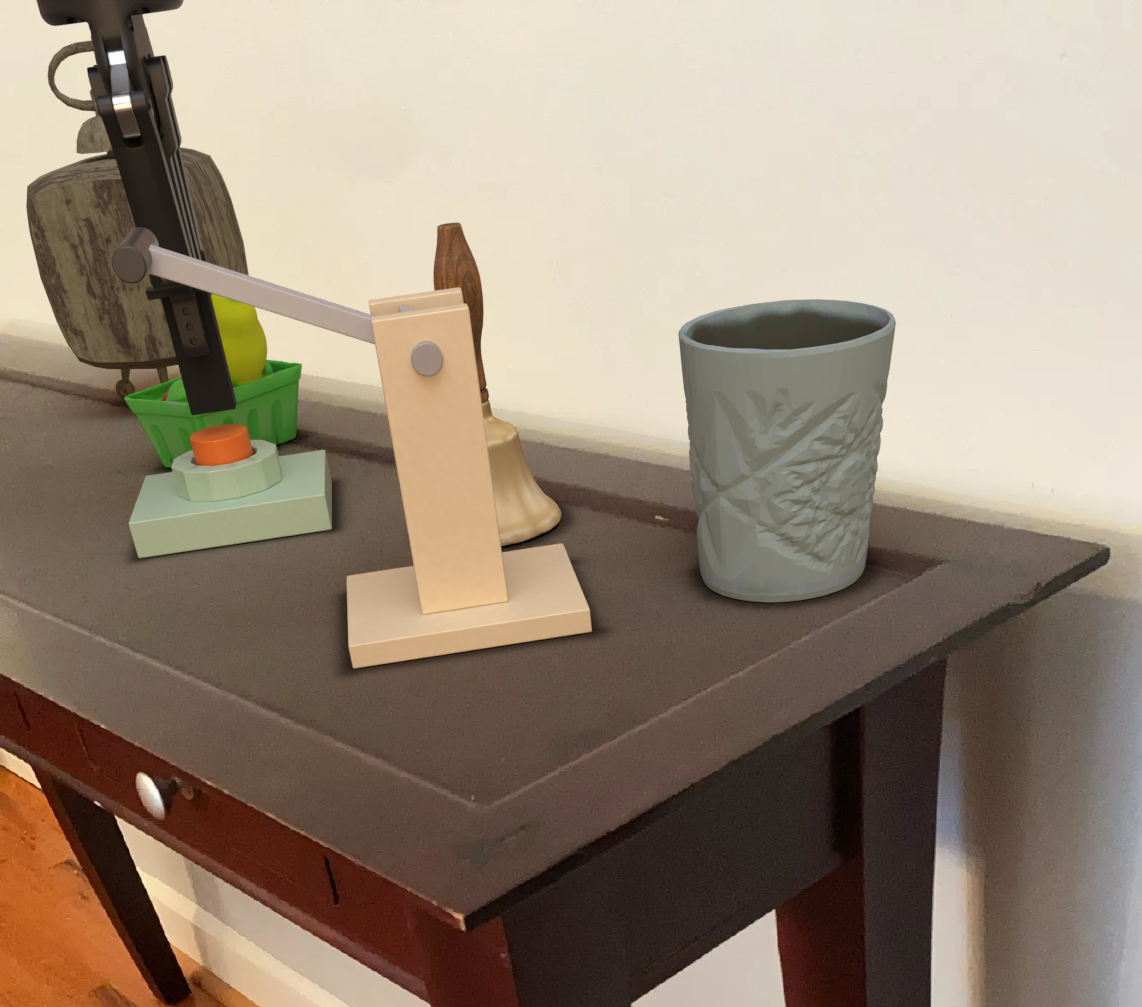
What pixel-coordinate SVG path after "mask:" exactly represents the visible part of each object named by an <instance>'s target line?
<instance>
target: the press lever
mask: <svg viewBox="0 0 1142 1007" xmlns="http://www.w3.org/2000/svg"><path fill="white" fill-rule="evenodd" d="M111 264H112V268H113V271H114V273H115V274H116V276H117V277H118V278H119V279H120V280H122V281H124V282H126V283H129V284H134V283H138V282H140V281H141V280H142V279H143V278H144V277H145V275H146V273H149V274H152V275H155V276H158V277H161V278H164V279H168V280H171V281H174V282H177V283H180V284H184V285H187V286H190V287H193V288H196V289H200V290H203V291H206V292H209V293H212V294H215V295H219V296H222V297H225V298H228V299H231V300H235V301H238V302H241V303H244V304H247V305H251V306H254V307H255V308H257V309H260V310H263V311H267V312H270V313H273V314H276V315H279V316H283V317H285V318H289V319H292V320H295V321H298V322H301V323H304V324H305V323H306V324H308V325H311V326H314V327H318V328H320V329H324V330H327V331H331V332H334V333H337V334H339V335H344V336H347V337H349V338H353V339H355V340H359V341H362V342H366V343H369V344H372V345H375V341H374V336H373V330H372V324H371V317H374V316H373V315H371V313H367V312H363V311H360V310H358V309H354V308H352V307H349V306H345V305H342V304H340V303H339V304H338V303H336V302H332V301H329V300H326V299H323V298H321V297H317V296H314V295H311V294H308V293H304V292H301V291H298V290H295V289H292V288H288V287H286V286H283V285H279V284H276V283H273V282H270V281H266V280H264V279H260V278H257V277H254V276H252V275H251V276H250V275H249V276H248V275H245V274H242V273H239V272H236V271H232V270H229V269H226V268H223V267H220V266H217V265H214V264H211V263H207V262H204V261H201V260H198V259H195V258H192V257H189V256H186V255H182V254H179V253H176V252H173V251H170V250H167V249H164V248H161V247H159V244H158V240H157V238H156V236H155V235H154V234H153V233H152V232H151V231H150V230H148V229H146V228H143V227H136V228H134V229H132V230H131V231H130V232H129V233H128V234H127V236H126V237H125V238H124V240H123V241H122V242H121V244H120V245H119V246H118V247H117V249H116V250H115V251H114V253H113V255H112V259H111ZM409 311H416V310H414V309H411V308H408V307H405V306H402V305H400V306H399V310H398V313H402V312H409Z"/></svg>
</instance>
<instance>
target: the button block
mask: <svg viewBox="0 0 1142 1007" xmlns="http://www.w3.org/2000/svg"><path fill="white" fill-rule="evenodd" d="M250 442H251V446H252V450H253V454H254V455H253V456H251V457H249V458H247V459H244V460H241V461H237V462H234V463H230V464H223V465H217V466H197V465H196V461H195V457H194V453H193V450H191V451H188V452H186V453H184V454H182V455H181V456H179V457H177V458H175V459H174V460H173V463H172V466H171V468H170V469H171V471H170V472H163V473H156V474H150V475H145V477H144V479H143V482H142V485H141V488H140V491H139V494H138V496H137V499H136V502H135V504H134V507H133V510H132V513H131V515H130V518H129V521H128V524H127V525H128V528H129V532H130V534H131V539H132V541H133V542H132V543H133V545H134V548H135V552H136V554H137V558H138V559H144V558H145V559H146V558H151V557H158V556H165V555H173V554H178V553H185V552H192V551H198V550H206V549H212V548H218V547H225V546H232V545H233V546H234V545H238V544H246V543H253V542H258V541H264V540H271V539H278V538H285V537H291V536H298V535H305V534H313V533H318V532H325V531H331V530H333V481H332V480H333V479H332V475H331V471H330V467H329V461H328V457H327V451H326V450H325V449H320V450H313V451H305V452H300V453H299V452H298V453H293V454H284V455H279V451H278V447H277V445H276V444H273V443H270V442H267V441H264V440H250Z"/></svg>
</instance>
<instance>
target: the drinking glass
mask: <svg viewBox="0 0 1142 1007" xmlns="http://www.w3.org/2000/svg"><path fill="white" fill-rule="evenodd" d="M896 325H897V322H896V319H895V316H894V314H893V313H891V312H890V311H889V310H888V309H886V308H882V307H880V306H877V305H874V304H868V303H863V302H856V301H851V300H841V299H840V300H839V299H819V298H816V299H815V298H813V299H811V298H810V299H784V300H774V301H766V302H758V303H750V304H744V305H738V306H733V307H727V308H722V309H718V310H715V311H711V312H708V313H705V314H702V315H699V316H697V317H695V318H692V319H691V320H688V321H687V322H685V323H684V324H683V325H682V326H681V327H680V328H679V330H678V334H677V335H678V343H679V354H680V364H681V375H682V385H683V392H684V397H685V411H686V421H687V424H688V425H687V436H688V441H689V444H688V445H689V446H688V447H689V450H688V459H689V469H690V475H691V477H692V478H691V492H692V498H693V500H694V513H695V516H697V518H698V523H697V526H696V540H697V542H696V543H697V552H698V562H699V564H698V565H699V572H700V575H701V579H702V580H703V583H704V584H705V586H706V587H707V588H708V589H710V590H711V591H713V592H714V593H717V594H718V595H721V596H723V597H727V598H731V599H735V600H739V601H740V600H741V601H746V602H754V603H755V602H756V603H786V602H797V601H803V600H809V599H815V598H820V597H824V596H827V595H830V594H833V593H836V592H839V591H841V590H844V589H845V588H847V587H849V586H852V585H853V584H854V583H855V582H857V581H858V580H859V579H860V578H861V577H862V575H863V574H864V571H865V568H866V565H867V564H866V563H867V557H868V548H869V541H870V529H871V528H870V527H871V521H870V519H871V515H872V512H873V507H874V495H875V492H876V486H875V484H876V480H877V474H878V473H877V472H878V470H879V469H878V468H879V462H878V456H879V454H880V451H881V445H882V444H881V443H882V438H881V433H882V431H883V428H884V418H883V405H884V404H883V403H884V401H885V399H886V396H887V391H888V380H889V375H890V370H891V363H892V362H891V361H892V355H893V348H894V340H895V332H896Z"/></svg>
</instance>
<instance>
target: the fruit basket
mask: <svg viewBox="0 0 1142 1007" xmlns="http://www.w3.org/2000/svg"><path fill="white" fill-rule="evenodd" d="M211 298H212V302H213V307H214V311H215V315H216V319H217V323H218V327H219V331H220V336H221V340H222V344H223V348H224V352H225V356H226V361H227V365H228V369H229V373H230V377H231V381H232V385H233V390H234V394H235V398H236V402H237V404H236V409H232V410H225V411H219V412H212V413H205V414H199V415H192V416H191V412H190V408H189V404H188V400H187V397H186V393H185V389H184V385H183V381H182V377H181V376H178V377H176V378H173V379H170V380H168V382H164V383H162V384H161V383H159V384H157V385H154V386H151V387H147V388H144V389H143V390H139V391H135V393H133V394H130V395H127V396H126V397H125V398H124V399H123V400H124V401H125V403H126V404H127V407H128V408H129V409H130V411H131V412H132V413H133V414H134V415H135V416H136V418H137V421H138V422H139V424H140V425H141V427H142V429H143V431H144V432H145V435H146V436H147V438H148V440H149V442H150V443H151V445H152V447H153V449H154V451H155V452H156V454H157V456H158V458H159V460H160V462H161V463H162V465H163V467H165V468H169V469H172V468H171V466H172V463H173V460H174V459H175V458H177V457H179V456H181V455H182V454H184V453H186V452H188V451H191V450H192V446H191V442H190V436H191V435H192V434H194V433H196V432H198V431H200V430H203V429H206V428H210V427H214V426H220V425H230V424H236V425H243V426H246V427H247V429H248V433H249V437H250V440H264V441H267V442H270V443H273V444H276V446H277V445H280V444H285V443H287V442H289V441H292V440H293V439H296V437H297V428H298V426H297V425H298V407H299V406H298V405H299V389H300V388H299V387H300V386H299V385H300V380H301V376H302V369H303V368H302V367H303V364H302V363H299V362H288V361H283V360H275V359H273V360H271V359H268V358H267V357H268V343H267V336H266V333H265V331H264V328H263V326H262V324H261V322H260V320H259V318H258V312H257V310H256V307H254V306H251V305H247V304H244V303H241V302H238V301H235V300H231V299H228V298H225V297H222V296H219V295H215V294H212V295H211Z"/></svg>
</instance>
